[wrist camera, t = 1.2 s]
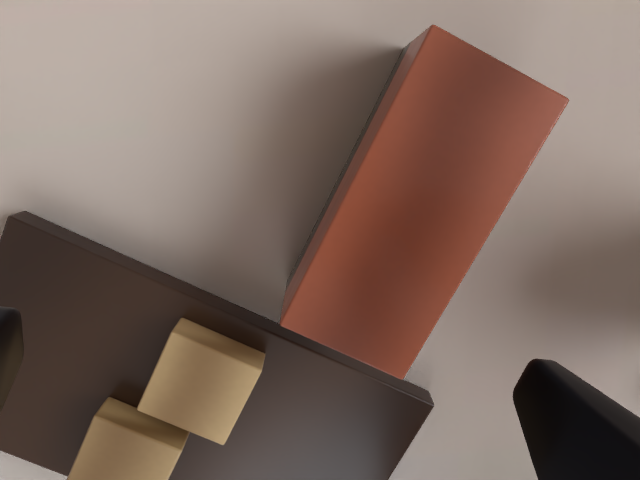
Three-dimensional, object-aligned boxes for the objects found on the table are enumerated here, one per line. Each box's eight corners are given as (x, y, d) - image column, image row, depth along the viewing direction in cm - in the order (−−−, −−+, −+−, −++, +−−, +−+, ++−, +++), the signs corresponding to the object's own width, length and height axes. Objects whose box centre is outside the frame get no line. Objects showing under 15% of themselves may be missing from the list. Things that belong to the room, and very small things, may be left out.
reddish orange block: (511, 104, 19) (571, 99, 15) (384, 326, 22) (402, 381, 17) (404, 46, 19) (432, 22, 14) (286, 281, 21) (278, 325, 16)
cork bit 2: (266, 353, 21) (262, 370, 19) (230, 424, 21) (223, 446, 20) (181, 316, 20) (171, 331, 19) (148, 390, 21) (135, 410, 20)
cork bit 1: (191, 428, 22) (182, 451, 20) (159, 494, 22) (148, 520, 21) (108, 395, 21) (93, 415, 20) (79, 463, 22) (62, 487, 20)
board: (429, 390, 22) (435, 405, 21) (327, 556, 25) (327, 577, 24) (25, 210, 20) (7, 215, 19) (-44, 411, 23) (-64, 427, 21)
